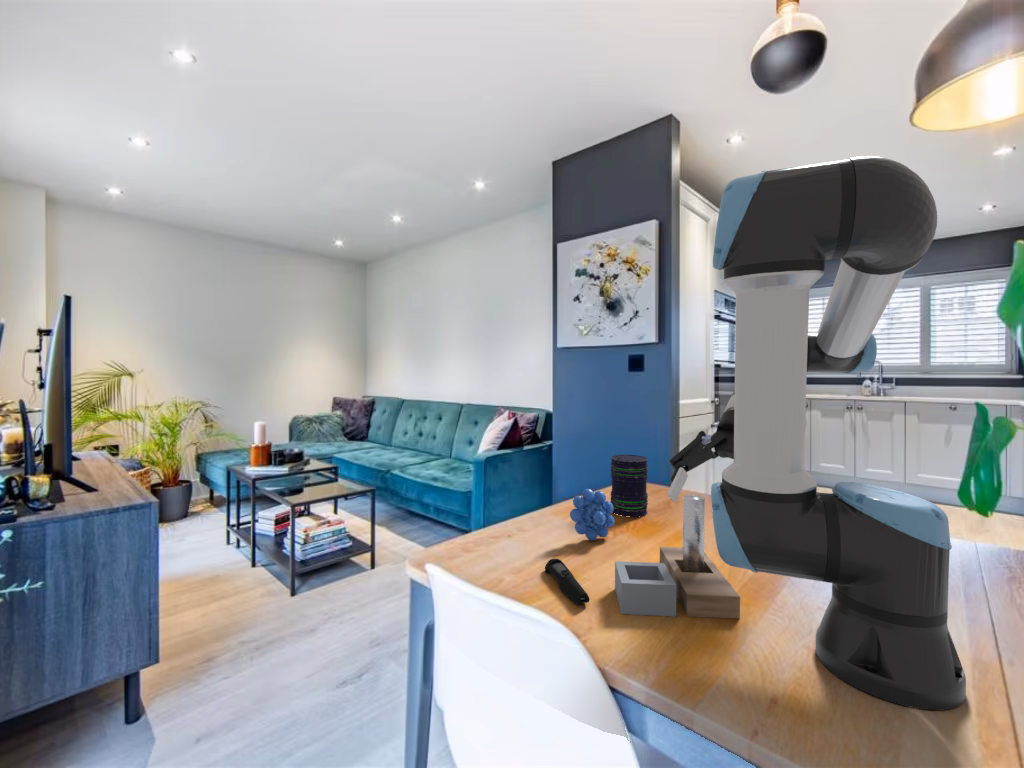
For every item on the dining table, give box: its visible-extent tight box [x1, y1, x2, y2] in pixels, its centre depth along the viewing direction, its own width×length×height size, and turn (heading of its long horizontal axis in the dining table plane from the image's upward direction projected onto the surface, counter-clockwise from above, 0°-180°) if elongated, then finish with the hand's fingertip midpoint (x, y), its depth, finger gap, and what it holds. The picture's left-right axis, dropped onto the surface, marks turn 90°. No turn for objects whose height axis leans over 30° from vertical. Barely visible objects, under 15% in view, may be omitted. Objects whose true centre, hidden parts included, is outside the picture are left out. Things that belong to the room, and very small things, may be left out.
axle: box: [682, 494, 706, 573], centre depth 84 cm, size 4×4×15 cm
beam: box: [659, 546, 741, 620], centre depth 83 cm, size 20×8×4 cm, turn 174°
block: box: [614, 560, 677, 617], centre depth 78 cm, size 8×8×5 cm
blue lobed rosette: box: [569, 488, 616, 541], centre depth 106 cm, size 12×7×12 cm, turn 113°
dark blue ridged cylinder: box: [610, 454, 649, 518], centre depth 127 cm, size 10×10×15 cm
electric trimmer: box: [544, 558, 590, 605], centre depth 84 cm, size 4×16×3 cm, turn 14°
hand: (703, 505), depth 87 cm, fingers open, 13 cm apart
